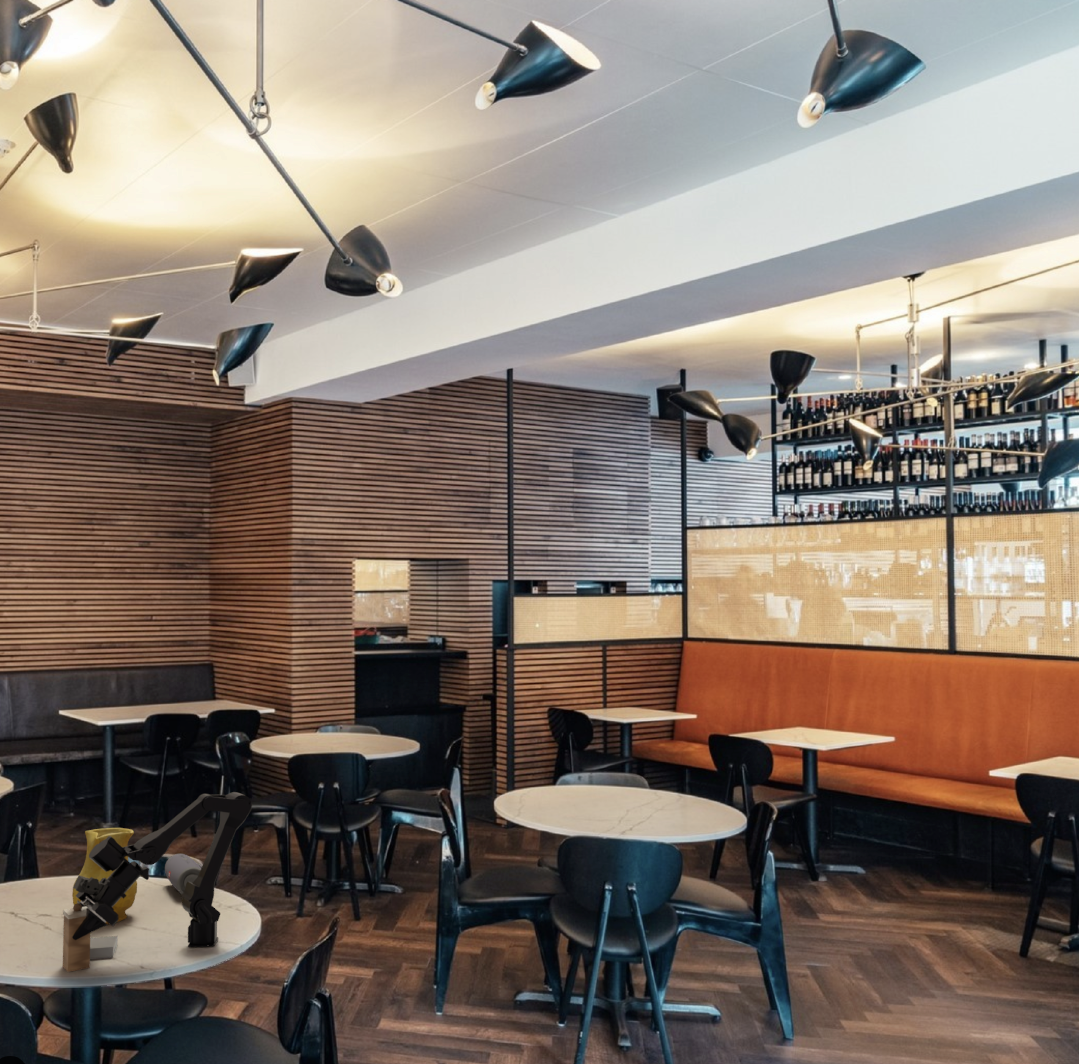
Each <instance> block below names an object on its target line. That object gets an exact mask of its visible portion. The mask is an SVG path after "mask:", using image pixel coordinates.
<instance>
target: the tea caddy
mask: <svg viewBox="0 0 1079 1064" xmlns="http://www.w3.org/2000/svg"><path fill="white" fill-rule="evenodd" d="M87 908H88V907H86V906H85V907H82V905H81V904H79V903H77V904H75V905H74V904H73V906H72V908H66V909H63V910H62V915H63V934H62V937H63V940H62V941H63V942H62V967H63V969H64V970H65V971H66V972H67V973H69V972H76V971H80V970H86V969H90V965H91V963H90V961H91V959H90V938H91V933H89V934H87V935H85V936H83V937H81V938H79V939H77V940H74V939H73V938H72V937H73V935H74V934H75V932H76V931H77V929H78V928H79V926H80V925H81V924H82V922H83V921H84V919H85V918H86V912H87ZM88 909H89V908H88ZM89 910H90V909H89ZM90 911H91V910H90Z"/></svg>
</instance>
